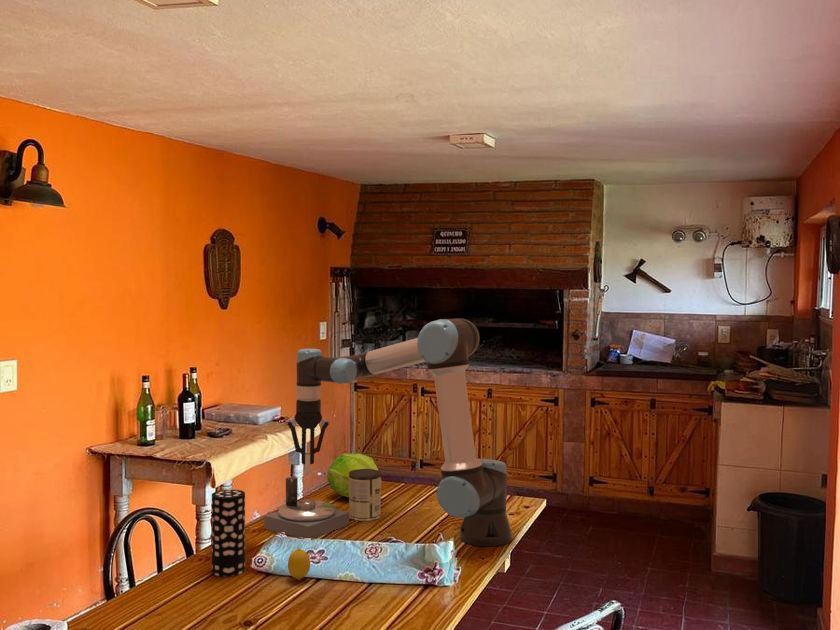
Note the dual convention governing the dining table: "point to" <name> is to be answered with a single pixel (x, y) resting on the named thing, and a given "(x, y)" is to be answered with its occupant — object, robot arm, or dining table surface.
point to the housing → (306, 524)
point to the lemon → (298, 564)
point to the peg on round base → (303, 505)
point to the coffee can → (364, 494)
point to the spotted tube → (228, 532)
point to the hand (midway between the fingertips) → (307, 474)
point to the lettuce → (347, 470)
